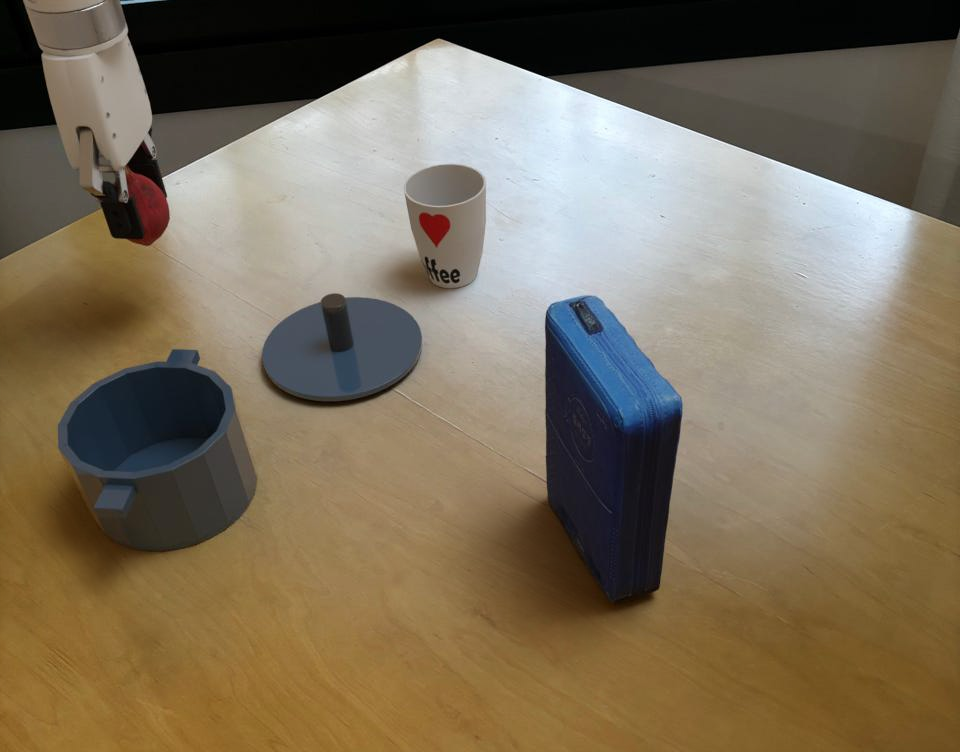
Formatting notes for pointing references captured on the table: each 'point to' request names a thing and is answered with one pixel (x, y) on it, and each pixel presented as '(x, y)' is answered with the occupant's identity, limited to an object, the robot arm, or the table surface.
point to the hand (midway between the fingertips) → (140, 216)
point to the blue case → (608, 446)
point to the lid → (342, 348)
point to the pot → (159, 453)
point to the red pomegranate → (148, 206)
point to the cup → (448, 221)
